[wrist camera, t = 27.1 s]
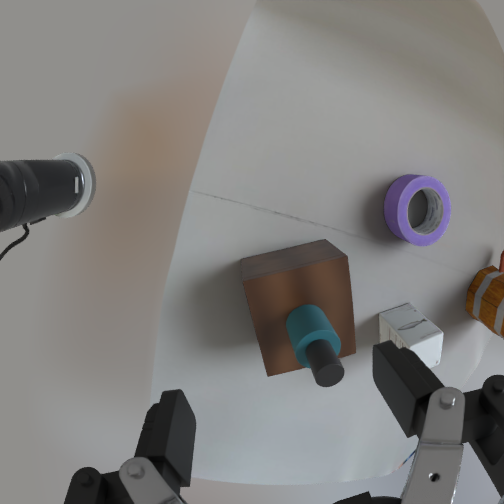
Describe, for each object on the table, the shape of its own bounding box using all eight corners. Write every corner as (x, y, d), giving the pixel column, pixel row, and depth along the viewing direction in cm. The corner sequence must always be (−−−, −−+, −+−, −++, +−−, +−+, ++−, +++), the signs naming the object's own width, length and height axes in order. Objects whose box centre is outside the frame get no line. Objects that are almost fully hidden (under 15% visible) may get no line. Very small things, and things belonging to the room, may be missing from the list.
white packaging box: (409, 301, 51) (445, 331, 39) (408, 332, 53) (440, 365, 41) (377, 311, 51) (409, 346, 39) (378, 343, 53) (406, 380, 41)
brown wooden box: (261, 342, 51) (267, 376, 42) (240, 258, 47) (242, 281, 37) (337, 323, 51) (356, 353, 42) (325, 238, 47) (347, 255, 37)
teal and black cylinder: (278, 331, 40) (293, 387, 28) (299, 298, 38) (323, 347, 27) (311, 344, 41) (335, 399, 29) (332, 313, 39) (365, 362, 28)
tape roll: (389, 247, 48) (403, 255, 43) (377, 182, 45) (391, 184, 40) (438, 229, 48) (454, 235, 43) (429, 169, 45) (445, 169, 40)
